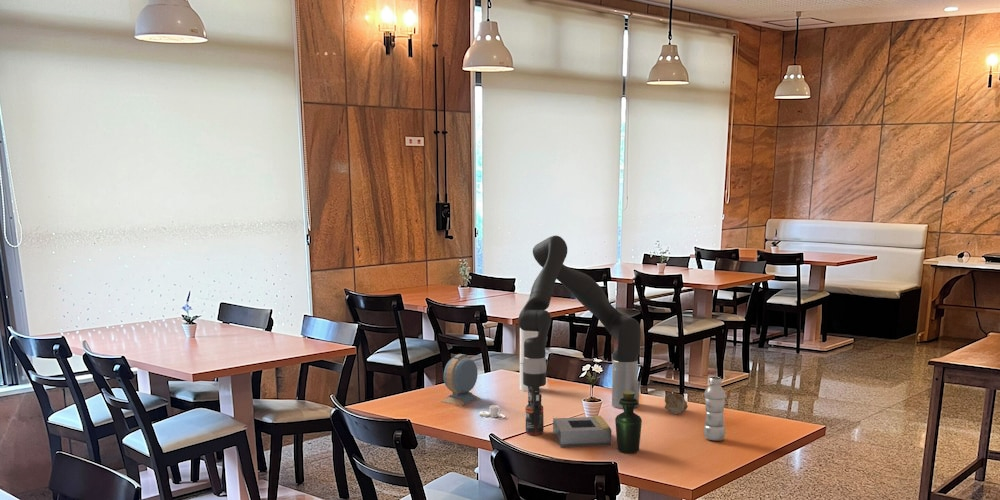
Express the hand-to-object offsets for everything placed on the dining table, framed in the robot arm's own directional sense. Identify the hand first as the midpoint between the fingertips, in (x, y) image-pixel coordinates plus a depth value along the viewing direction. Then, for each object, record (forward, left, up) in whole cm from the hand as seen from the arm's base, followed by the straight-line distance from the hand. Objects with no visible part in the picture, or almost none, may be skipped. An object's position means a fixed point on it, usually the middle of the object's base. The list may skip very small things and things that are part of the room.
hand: (534, 420), depth 252 cm
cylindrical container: (-6, -57, -4) cm, 57 cm away
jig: (-14, +8, -4) cm, 17 cm away
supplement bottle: (0, 0, -4) cm, 4 cm away
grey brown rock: (-54, -19, -4) cm, 57 cm away
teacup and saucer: (+12, -23, -5) cm, 26 cm away
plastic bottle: (-56, +13, -4) cm, 58 cm away
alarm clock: (+22, -43, -4) cm, 48 cm away
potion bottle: (-26, +20, -4) cm, 33 cm away
